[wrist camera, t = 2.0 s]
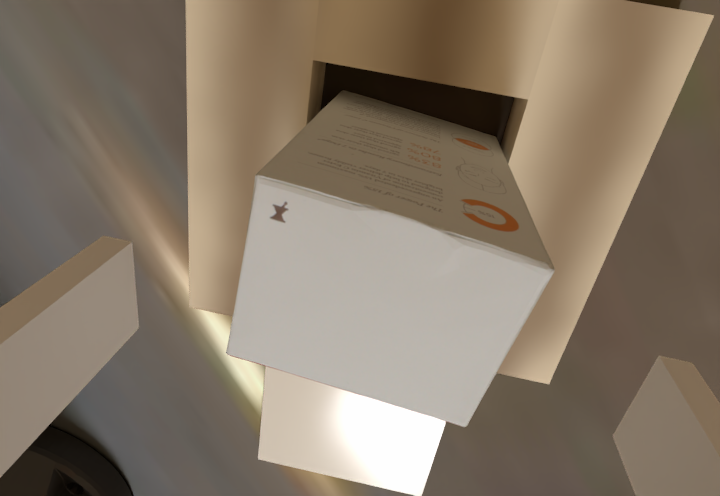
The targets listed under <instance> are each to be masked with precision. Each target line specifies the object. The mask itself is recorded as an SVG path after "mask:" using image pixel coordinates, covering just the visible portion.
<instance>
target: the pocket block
mask: <svg viewBox="0 0 720 496" xmlns="http://www.w3.org/2000/svg"><path fill="white" fill-rule="evenodd" d="M713 17H714V15H708V14H702V13H696V12H691V11H685V10H679V9H673V8H667V7H661V6H656V5H650V4H644V3H638V2H632V1H626V0H186V64H187V144H188V225H189V306H190V307H191V308H196V309H201V310H205V311H210V312H215V313H219V314H224V315H228V316H233V313H234V308H235V302H236V296H237V290H238V284H239V278H240V272H241V266H242V261H243V254H244V248H245V241H246V235H247V229H248V222H249V216H250V209H251V202H252V196H253V189H254V181H255V175H256V174H257V173H258V172H259V171H260V170H261V169H262V168H263V167H264V166H265V165H266V164H267V163H268V162H269V161H270V160H271V159H272V158H273V157H274V156H275V155H276V154H277V153H278V152H279V151H281V150H282V149H283V148H284V147H285V146H286V145H287V144H288V143H289V142H290V141H291V140H292V139H293V138H294V137H295V136H296V135H297V134H298V133H299V132H300V131H301V130H302V129H303V128H304V127H305V126H306V125H307V124H308V123H309V122H310V121H311V120H312V119H313V118H314V117H315V116H316V115H317V114H318V113H319V112H320V111H321V103H322V94H323V86H324V77H325V68H326V63H332V64H337V65H343V66H348V67H353V68H359V69H364V70H370V71H375V72H381V73H386V74H392V75H397V76H402V77H408V78H413V79H419V80H424V81H430V82H435V83H441V84H446V85H451V86H457V87H462V88H468V89H473V90H479V91H484V92H489V93H495V94H500V95H506V96H511V97H515V98H514V102H513V105H512V108H511V112H510V115H509V119H508V122H507V125H506V129H505V132H504V135H503V139H502V142H501V146H500V147H501V149H502V151H503V153H504V156H505V158H506V160H507V163H508V165H509V167H510V169H511V171H512V174H513V176H514V178H515V181H516V183H517V185H518V188H519V190H520V192H521V194H522V196H523V199H524V201H525V203H526V205H527V208H528V210H529V212H530V215H531V217H532V219H533V222H534V224H535V226H536V228H537V231H538V233H539V235H540V238H541V240H542V242H543V244H544V247H545V249H546V251H547V253H548V255H549V257H550V259H551V261H552V263H553V265H554V267H555V271H554V274H553V275H552V277H551V279H550V280H549V282H548V284H547V285H546V287H545V289H544V291H543V292H542V294H541V296H540V298H539V299H538V301H537V303H536V305H535V306H534V308H533V310H532V312H531V313H530V315H529V317H528V318H527V320H526V322H525V324H524V325H523V327H522V329H521V331H520V332H519V334H518V336H517V338H516V339H515V341H514V343H513V345H512V347H511V348H510V350H509V352H508V354H507V355H506V357H505V359H504V361H503V362H502V364H501V366H500V368H499V369H498V371H497V373H499V374H503V375H508V376H513V377H517V378H522V379H527V380H531V381H536V382H541V383H545V384H549V383H550V381H551V378H552V376H553V374H554V372H555V370H556V367H557V365H558V363H559V361H560V358H561V356H562V354H563V352H564V349H565V347H566V345H567V343H568V341H569V338H570V336H571V334H572V332H573V329H574V327H575V325H576V323H577V320H578V318H579V316H580V314H581V312H582V309H583V307H584V305H585V303H586V300H587V298H588V296H589V294H590V291H591V289H592V287H593V285H594V283H595V280H596V278H597V276H598V274H599V271H600V269H601V267H602V265H603V262H604V260H605V258H606V256H607V254H608V251H609V249H610V247H611V245H612V242H613V240H614V238H615V236H616V233H617V231H618V229H619V227H620V225H621V222H622V220H623V218H624V216H625V213H626V211H627V209H628V207H629V204H630V202H631V200H632V198H633V196H634V193H635V191H636V189H637V187H638V184H639V182H640V180H641V178H642V175H643V173H644V171H645V169H646V167H647V164H648V162H649V160H650V158H651V155H652V153H653V151H654V149H655V146H656V144H657V142H658V140H659V138H660V135H661V133H662V131H663V129H664V126H665V124H666V122H667V120H668V117H669V115H670V113H671V111H672V109H673V106H674V104H675V102H676V100H677V97H678V95H679V93H680V91H681V88H682V86H683V84H684V82H685V80H686V77H687V75H688V73H689V71H690V68H691V66H692V64H693V62H694V59H695V57H696V55H697V53H698V51H699V48H700V46H701V44H702V42H703V39H704V37H705V35H706V33H707V30H708V28H709V26H710V24H711V22H712V19H713Z"/></svg>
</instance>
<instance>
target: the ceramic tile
mask: <svg viewBox="0 0 720 496" xmlns="http://www.w3.org/2000/svg"><path fill="white" fill-rule="evenodd" d="M445 423H446V421H443V420H440V419H437V418H434V417H430V416H427V415H424V414H420V413H417V412H414V411H411V410H407V409H404V408H401V407H398V406H394V405H391V404H388V403H385V402H382V401H379V400H375V399H372V398H368V397H365V396H362V395H358V394H355V393H352V392H349V391H345V390H342V389H339V388H336V387H332V386H329V385H326V384H323V383H319V382H316V381H313V380H309V379H306V378H303V377H299V376H296V375H293V374H290V373H287V372H283V371H280V370H277V369H273V368H270V367H267V366H266V368H265V381H264V393H263V405H262V417H261V429H260V441H259V453H258V459H259V460H264V461H268V462H272V463H277V464H281V465H285V466H290V467H294V468H298V469H303V470H307V471H311V472H316V473H320V474H324V475H329V476H333V477H337V478H342V479H346V480H350V481H355V482H359V483H363V484H368V485H372V486H376V487H381V488H385V489H390V490H394V491H398V492H403V493H407V494H411V495H416V496H421V495H422V492H423V489H424V486H425V483H426V480H427V477H428V474H429V471H430V468H431V465H432V462H433V459H434V456H435V453H436V450H437V447H438V444H439V441H440V438H441V435H442V432H443V429H444V426H445Z"/></svg>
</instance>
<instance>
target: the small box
mask: <svg viewBox="0 0 720 496" xmlns="http://www.w3.org/2000/svg"><path fill="white" fill-rule="evenodd" d="M554 271H555V267H554V265H553V263H552V261H551V259H550V257H549V255H548V253H547V251H546V249H545V247H544V244H543V242H542V240H541V238H540V235H539V233H538V231H537V228H536V226H535V224H534V222H533V219H532V217H531V215H530V212H529V210H528V208H527V205H526V203H525V201H524V199H523V196H522V194H521V192H520V190H519V188H518V185H517V183H516V181H515V178H514V176H513V174H512V171H511V169H510V167H509V165H508V163H507V160H506V158H505V156H504V153H503V151H502V149H501V147H500V145H499V142H498V140H497V138H496V137H495V136H492V135H489V134H486V133H483V132H480V131H477V130H473V129H470V128H467V127H464V126H461V125H458V124H455V123H451V122H448V121H445V120H442V119H439V118H435V117H432V116H429V115H426V114H422V113H419V112H416V111H412V110H409V109H406V108H402V107H399V106H396V105H393V104H389V103H386V102H383V101H380V100H376V99H373V98H369V97H366V96H363V95H359V94H356V93H352V92H349V91H345V90H342V91H341V92H340V93H339V94H338V95H337V96H336V97H335V98H334V99H333V100H332V101H330V102H329V103H328V104H327V105H326V106H325V107H324V108H323V109H322V110H321V111H320V112H319V113H318V114H317V115H316V116H315V117H314V118H313V119H312V120H311V121H310V122H309V123H308V124H307V125H306V126H305V127H304V128H303V129H302V130H301V131H300V132H299V133H298V134H297V135H296V136H295V137H294V138H293V139H292V140H291V141H290V142H289V143H288V144H287V145H286V146H285V147H284V148H283V149H282V150H281V151H279V152H278V153H277V154H276V155H275V156H274V157H273V158H272V159H271V160H270V161H269V162H268V163H267V164H266V165H265V166H264V167H263V168H262V169H261V170H260V171H259V172H258V173H257V174H256V175H255V181H254V189H253V196H252V202H251V209H250V216H249V222H248V229H247V235H246V241H245V248H244V254H243V261H242V266H241V272H240V278H239V284H238V290H237V296H236V302H235V308H234V313H233V319H232V324H231V330H230V336H229V342H228V347H227V352H226V353H227V354H228V355H230V356H233V357H237V358H240V359H244V360H247V361H251V362H254V363H257V364H260V365H263V366H267V367H270V368H273V369H277V370H280V371H283V372H287V373H290V374H293V375H296V376H299V377H303V378H306V379H309V380H313V381H316V382H319V383H323V384H326V385H329V386H332V387H336V388H339V389H342V390H345V391H349V392H352V393H355V394H358V395H362V396H365V397H368V398H372V399H375V400H379V401H382V402H385V403H388V404H391V405H394V406H398V407H401V408H404V409H407V410H411V411H414V412H417V413H420V414H424V415H427V416H430V417H434V418H437V419H440V420H443V421H446V422H450V423H453V424H456V425H459V426H462V427H466V426H467V425H468V423H469V421H470V419H471V417H472V415H473V414H474V412H475V410H476V408H477V406H478V405H479V403H480V401H481V399H482V397H483V396H484V394H485V392H486V390H487V389H488V387H489V385H490V383H491V382H492V380H493V378H494V376H495V375H496V373H497V371H498V369H499V368H500V366H501V364H502V362H503V361H504V359H505V357H506V355H507V354H508V352H509V350H510V348H511V347H512V345H513V343H514V341H515V339H516V338H517V336H518V334H519V332H520V331H521V329H522V327H523V325H524V324H525V322H526V320H527V318H528V317H529V315H530V313H531V312H532V310H533V308H534V306H535V305H536V303H537V301H538V299H539V298H540V296H541V294H542V292H543V291H544V289H545V287H546V285H547V284H548V282H549V280H550V279H551V277H552V275H553V274H554Z"/></svg>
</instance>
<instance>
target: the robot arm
mask: <svg viewBox="0 0 720 496" xmlns="http://www.w3.org/2000/svg"><path fill="white" fill-rule="evenodd" d="M138 328H139V322H138V310H137V297H136V284H135V272H134V259H133V247H132V242H130V241H126V240H121V239H117V238H112V237H107V236H102V237H101V238H100V239H98V240H97V241H95V242H94V243H92V244H91V245H90V246H88V247H87V248H85V249H84V250H82V251H81V252H79V253H78V254H77V255H75V256H74V257H72V258H71V259H69V260H68V261H67V262H65V263H64V264H62V265H61V266H59V267H58V268H57V269H55V270H54V271H52V272H51V273H49V274H48V275H46V276H45V277H44V278H42V279H41V280H39V281H38V282H36V283H35V284H34V285H32V286H31V287H29V288H28V289H26V290H25V291H23V292H22V293H21V294H19V295H18V296H16V297H15V298H13V299H12V300H11V301H9V302H8V303H6V304H5V305H3V306H2V307H1V308H0V496H132V495H131V492H130V490H129V488H128V486H127V484H126V482H125V481H124V479H123V478H122V477H121V475H120V474H119V473H118V471H117V470H116V469H115V468H114V467H113V466H112V465H111V464H110V463H109V462H108V461H107V460H106V459H105V458H104V457H103V456H101V455H100V454H99V453H98V452H96V451H95V450H94V449H92V448H91V447H90V446H88V445H86V444H85V443H83V442H82V441H80V440H78V439H77V438H75V437H73V436H71V435H69V434H67V433H65V432H62V431H60V430H57V429H55V428H52V427H49V425H50V423H51V422H52V421H53V420H54V419H55V418H56V417H57V416H58V415H59V414H60V413H61V412H62V411H63V409H64V408H65V407H66V406H67V405H68V404H69V403H70V402H71V401H72V400H73V399H74V398H75V396H76V395H77V394H78V393H79V392H80V391H81V390H82V389H83V388H84V387H85V386H86V385H87V384H88V382H89V381H90V380H91V379H92V378H93V377H94V376H95V375H96V374H97V373H98V372H99V371H100V370H101V368H102V367H103V366H104V365H105V364H106V363H107V362H108V361H109V360H110V359H111V358H112V357H113V355H114V354H115V353H116V352H117V351H118V350H119V349H120V348H121V347H122V346H123V345H124V344H125V343H126V341H127V340H128V339H129V338H130V337H131V336H132V335H133V334H134V333H135V332H136V331H137V330H138ZM613 438H614V441H615V443H616V446H617V449H618V451H619V454H620V456H621V459H622V462H623V464H624V467H625V469H626V472H627V475H628V477H629V480H630V482H631V485H632V488H633V490H634V493H635V496H720V403H719V402H718V400H717V399H716V397H715V396H714V394H713V393H712V391H711V390H710V388H709V387H708V385H707V384H706V383H705V381H704V380H703V378H702V377H701V375H700V374H699V372H698V371H697V369H696V368H695V366H694V365H693V363H691V362H686V361H682V360H677V359H673V358H668V357H663V356H658V358H657V360H656V361H655V363H654V365H653V367H652V368H651V370H650V372H649V374H648V375H647V377H646V379H645V381H644V382H643V384H642V386H641V387H640V389H639V391H638V393H637V394H636V396H635V398H634V400H633V401H632V403H631V405H630V407H629V408H628V410H627V412H626V413H625V415H624V417H623V419H622V420H621V422H620V424H619V426H618V427H617V429H616V431H615V432H614V434H613Z"/></svg>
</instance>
